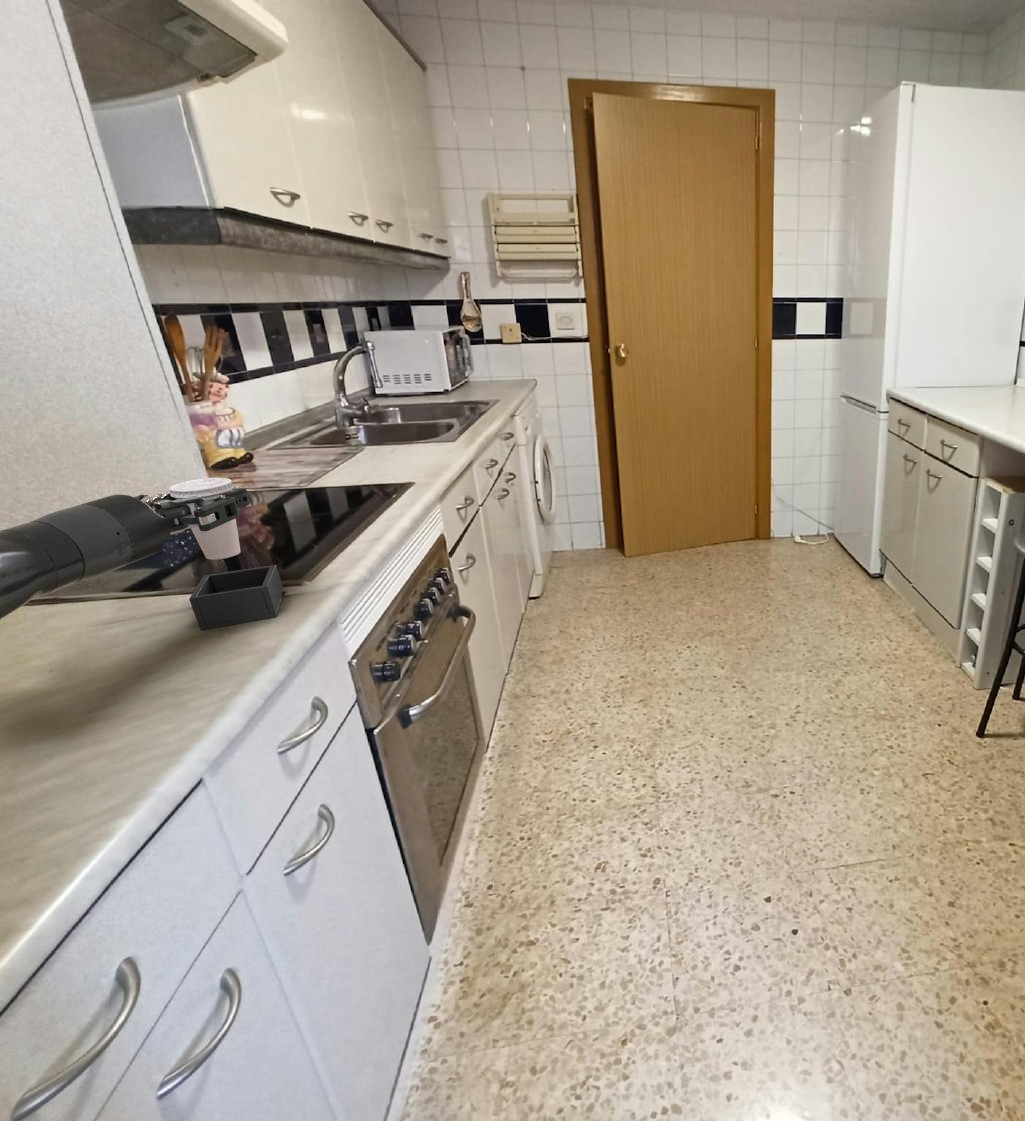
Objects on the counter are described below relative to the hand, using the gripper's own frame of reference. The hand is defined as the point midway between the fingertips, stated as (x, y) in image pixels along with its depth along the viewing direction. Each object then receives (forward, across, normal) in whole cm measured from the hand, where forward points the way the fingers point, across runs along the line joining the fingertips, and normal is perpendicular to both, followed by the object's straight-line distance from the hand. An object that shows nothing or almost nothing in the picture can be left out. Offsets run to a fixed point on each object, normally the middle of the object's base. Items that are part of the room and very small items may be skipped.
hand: (220, 495), depth 86 cm
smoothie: (-2, 0, +8) cm, 8 cm away
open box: (-2, 0, +16) cm, 16 cm away
